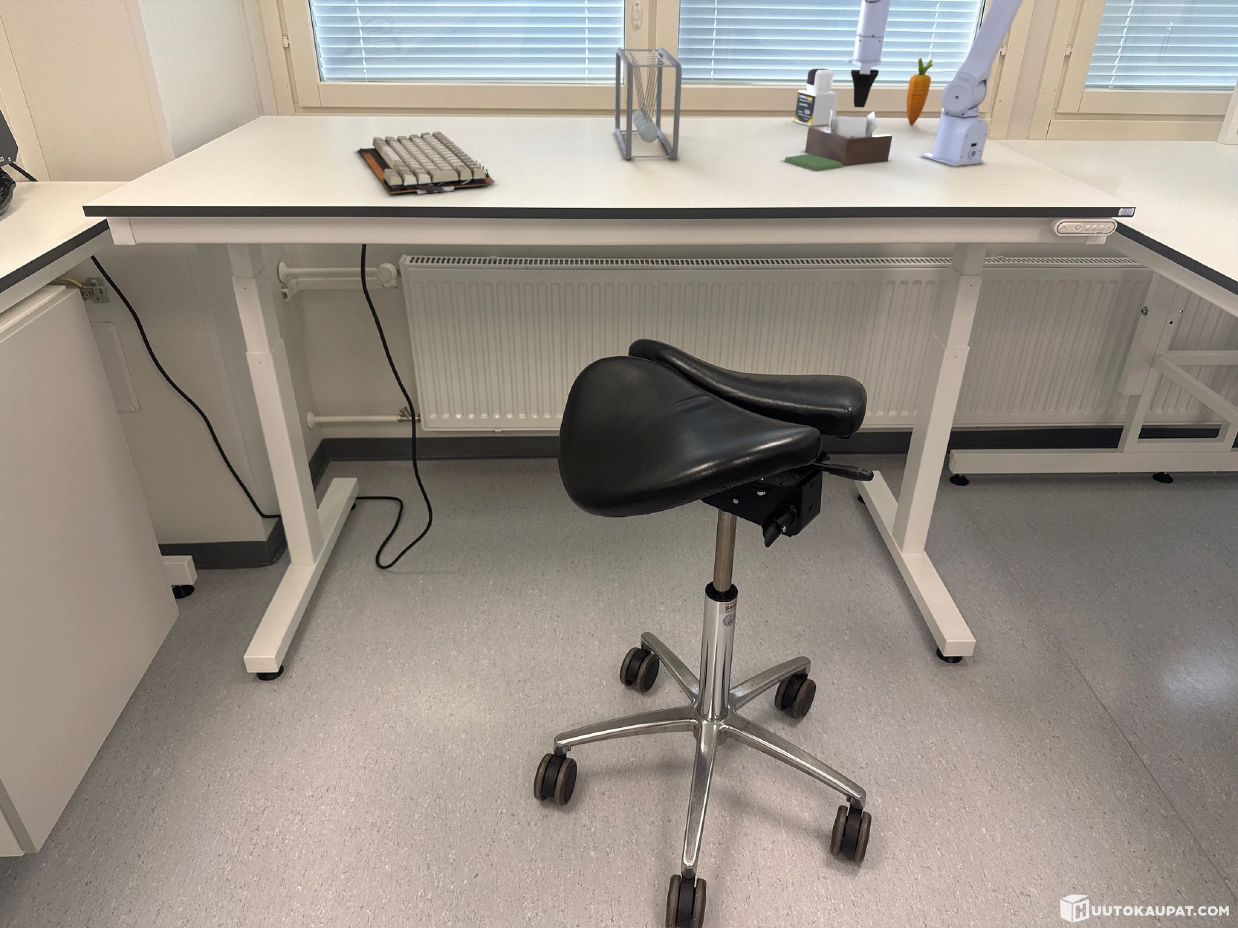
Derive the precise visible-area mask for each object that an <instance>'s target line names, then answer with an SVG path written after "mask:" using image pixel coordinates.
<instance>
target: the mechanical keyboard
mask: <svg viewBox="0 0 1238 928" xmlns="http://www.w3.org/2000/svg"><path fill="white" fill-rule="evenodd" d="M372 146H373V147H370V148H368V147H367V148H363V147H359V149H357V150H356V151H357V152H358V153H359V155H360V157H362V159H363V160H364V161H365V162H366V163H367V165H368V167H369V168H370V169H371V171H372V172H373V173H374V174H375V175H376V177H377V178H378V179H379V180H380V183H382V185H383V187H384V188H385V189H386V190H387V192H388V194H389V195H391V194H399V193H400V194H401V193H410V192H416V193H417V195H422V194H433V193H443V192H447V193H448V192H449V193H450V192H453V191H454V190H455V188H467V187H478V186H488V185H489V184H494V183H495V180H494V179H493V178H492V177H491V176H490V174H489V171H488V168H485V166H484V165H481V162H480V163H478V160H474V159H473V158H472V157H471V156H470V155H468V154H467V153H466V152H465V151H464V150H462V148H461V147H460V146H458V145H456V144H455V143H454V142H453V140H451V139H450V138H448V137H447V136H446V135H445V134H444V133H443V132H441V131H433V132H432V133H430V132H428V131H426V132H421V133H420V135H419V134H409V135H408V136H406V135H398V136H397V137H394V136H385V137H384V138H383V137H378V136H374V137H373V139H372Z"/></svg>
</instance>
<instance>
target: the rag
mask: <svg viewBox="0 0 1238 928" xmlns="http://www.w3.org/2000/svg"><path fill="white" fill-rule="evenodd" d="M784 162H786V163H789V164H792V165H795V166H798V167H802V168H804V169H805V168H806V169H809V170H812V171H822V170H828V169H830V170H831V169H836V168H841V167H842V166H843V165H842V163H841V162H838V161H834V160H831V159H827V158H823V157H820V156H816V155H813V154H810V153H807V154H798V155H794V156H793V155H791V156H786V157H784Z"/></svg>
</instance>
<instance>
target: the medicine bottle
mask: <svg viewBox="0 0 1238 928" xmlns="http://www.w3.org/2000/svg"><path fill="white" fill-rule="evenodd" d="M834 76H835V73H834V71H833V70H832V69H828V68H811V69H809V70H808V72H807V79H806V88H807V89H799V90H798V92H797V96H796V105H795V114H794V121H795V122H796V123H800V124H802V125H806V126H808V127H817V126H829V123H830V117H831V110H832V112H833V116H834V117H837V109H838V102H839V95H840V94H839V92H837V91H833V90H832V88H833V83H834Z"/></svg>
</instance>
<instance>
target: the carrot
mask: <svg viewBox="0 0 1238 928" xmlns="http://www.w3.org/2000/svg"><path fill="white" fill-rule="evenodd" d="M917 64H918V65H917V71H918V73H916V74H913V75H912V76H911V77H910V79H909V81H908V88H907V95H906V116H907V120H908V124H909V125H910V126H913V125H914V124H915V123H916V122H917V121H918V119H919V117H920V116H921V114H922V113H923V110H924V107H925V106H926V105H925V104H926V101H927V99H928V95H929V92H930V87H931V82H932V78H931V76H930V75H928V74H926V73H927V71H928V70H929V69H930V68H932V67H933V66H934V65H933V59H929V61H928V62H927V64H926V66H925V65H924V61H923V58H922V57H919V58H918V59H917Z"/></svg>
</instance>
